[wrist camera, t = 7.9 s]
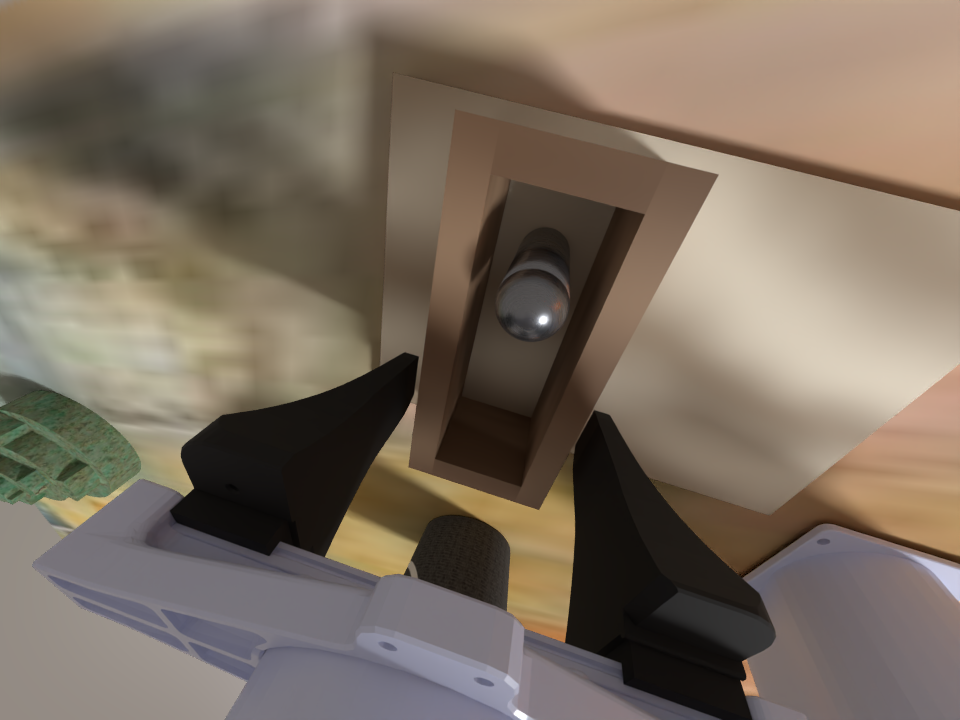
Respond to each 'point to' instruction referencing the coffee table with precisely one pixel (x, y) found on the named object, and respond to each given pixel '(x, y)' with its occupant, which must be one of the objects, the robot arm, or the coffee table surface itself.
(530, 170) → the walnut link
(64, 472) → the decorative artifact
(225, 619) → the robot arm
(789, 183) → the birch board
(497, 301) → the peg
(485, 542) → the coffee cup
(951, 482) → the coffee table surface
